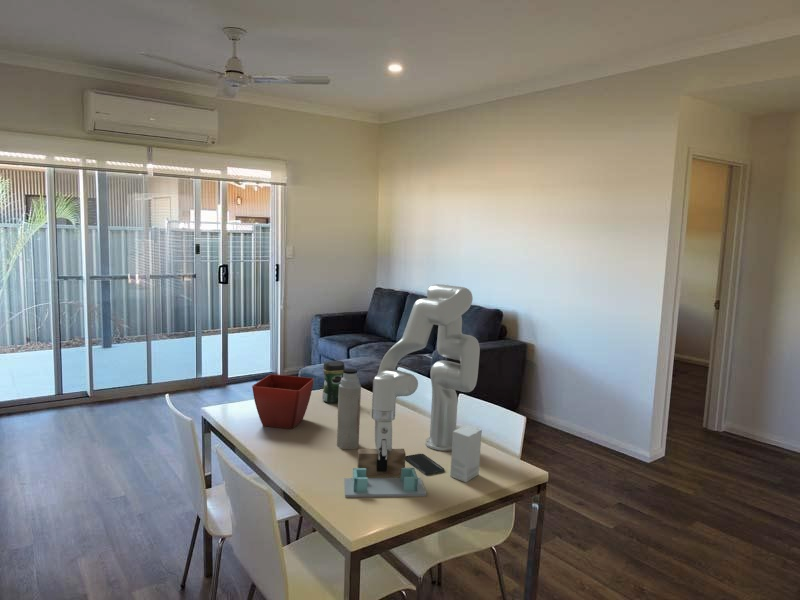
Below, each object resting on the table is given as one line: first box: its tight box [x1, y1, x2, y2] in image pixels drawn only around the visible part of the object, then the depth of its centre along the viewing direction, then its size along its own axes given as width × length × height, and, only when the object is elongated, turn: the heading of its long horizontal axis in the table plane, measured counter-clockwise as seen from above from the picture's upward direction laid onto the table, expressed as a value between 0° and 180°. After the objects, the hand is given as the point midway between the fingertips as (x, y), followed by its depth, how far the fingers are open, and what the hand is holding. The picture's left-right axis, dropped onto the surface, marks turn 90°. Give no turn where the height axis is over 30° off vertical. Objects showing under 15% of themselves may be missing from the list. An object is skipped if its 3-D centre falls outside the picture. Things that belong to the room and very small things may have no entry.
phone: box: [405, 453, 445, 476], centre depth 188 cm, size 8×1×15 cm
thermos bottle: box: [336, 368, 362, 450], centre depth 201 cm, size 8×8×28 cm
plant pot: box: [251, 373, 315, 430], centre depth 222 cm, size 19×19×17 cm
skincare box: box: [449, 424, 483, 483], centre depth 180 cm, size 8×7×16 cm
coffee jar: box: [322, 360, 346, 404], centre depth 254 cm, size 10×8×19 cm
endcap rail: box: [343, 467, 427, 498], centre depth 169 cm, size 24×11×5 cm, turn 97°
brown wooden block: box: [357, 448, 407, 476], centre depth 181 cm, size 15×4×7 cm, turn 97°
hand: (381, 467), depth 181 cm, fingers closed on brown wooden block, 4 cm apart
